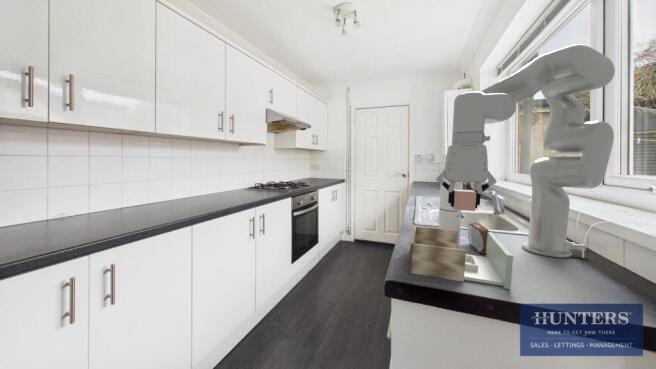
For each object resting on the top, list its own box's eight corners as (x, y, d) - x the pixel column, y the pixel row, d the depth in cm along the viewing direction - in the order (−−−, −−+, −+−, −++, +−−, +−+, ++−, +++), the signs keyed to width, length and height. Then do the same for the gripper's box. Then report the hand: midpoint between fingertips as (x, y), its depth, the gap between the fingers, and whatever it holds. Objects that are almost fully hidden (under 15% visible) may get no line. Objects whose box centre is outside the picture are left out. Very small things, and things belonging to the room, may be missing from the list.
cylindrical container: (434, 240, 96) (437, 174, 94) (453, 240, 96) (457, 174, 94) (442, 246, 89) (446, 175, 87) (463, 246, 89) (467, 175, 87)
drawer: (490, 258, 78) (492, 232, 77) (510, 289, 59) (513, 255, 58) (442, 252, 83) (443, 227, 82) (446, 279, 64) (448, 248, 63)
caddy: (456, 255, 81) (457, 230, 80) (463, 281, 63) (465, 250, 62) (413, 249, 86) (414, 226, 85) (409, 272, 68) (410, 243, 67)
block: (472, 207, 72) (473, 190, 71) (475, 211, 67) (476, 192, 67) (452, 206, 73) (453, 189, 73) (454, 209, 69) (455, 191, 68)
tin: (492, 258, 79) (494, 231, 78) (481, 257, 80) (483, 230, 79) (474, 243, 94) (476, 220, 93) (465, 242, 94) (466, 220, 94)
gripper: (500, 141, 69) (495, 207, 71) (433, 142, 75) (430, 202, 77) (508, 138, 62) (503, 211, 64) (433, 140, 68) (430, 206, 70)
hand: (463, 206), depth 70 cm, fingers closed on block, 4 cm apart
